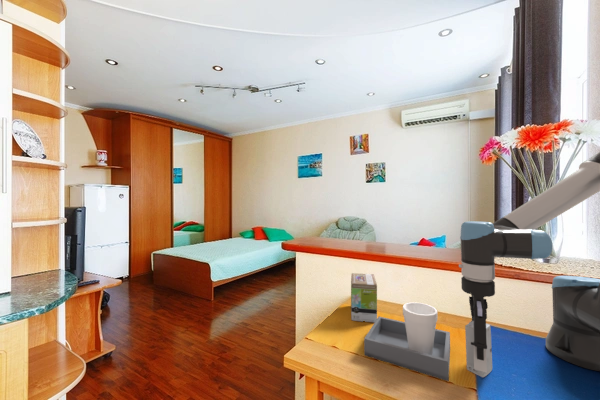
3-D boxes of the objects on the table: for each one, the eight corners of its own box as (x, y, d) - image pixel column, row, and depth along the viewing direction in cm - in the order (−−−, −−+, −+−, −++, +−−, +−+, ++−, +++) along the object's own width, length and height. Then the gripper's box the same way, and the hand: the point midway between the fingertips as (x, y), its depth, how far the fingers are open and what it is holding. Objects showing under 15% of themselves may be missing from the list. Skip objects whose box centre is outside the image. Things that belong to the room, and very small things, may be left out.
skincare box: (484, 378, 66) (483, 332, 66) (465, 369, 70) (464, 325, 70) (493, 369, 70) (492, 325, 70) (474, 361, 73) (473, 319, 73)
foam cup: (406, 340, 83) (405, 300, 83) (438, 348, 78) (437, 305, 78) (401, 355, 75) (400, 311, 75) (437, 365, 70) (436, 318, 70)
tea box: (378, 323, 97) (377, 284, 97) (351, 321, 99) (350, 283, 99) (374, 306, 111) (374, 273, 111) (351, 305, 113) (350, 272, 113)
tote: (450, 348, 80) (449, 332, 80) (448, 381, 65) (448, 361, 65) (379, 330, 91) (378, 316, 91) (364, 355, 77) (364, 338, 77)
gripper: (460, 267, 80) (462, 340, 80) (461, 286, 63) (463, 379, 63) (490, 271, 76) (491, 347, 76) (500, 291, 59) (501, 390, 59)
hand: (479, 361), depth 70 cm, fingers closed on skincare box, 7 cm apart
